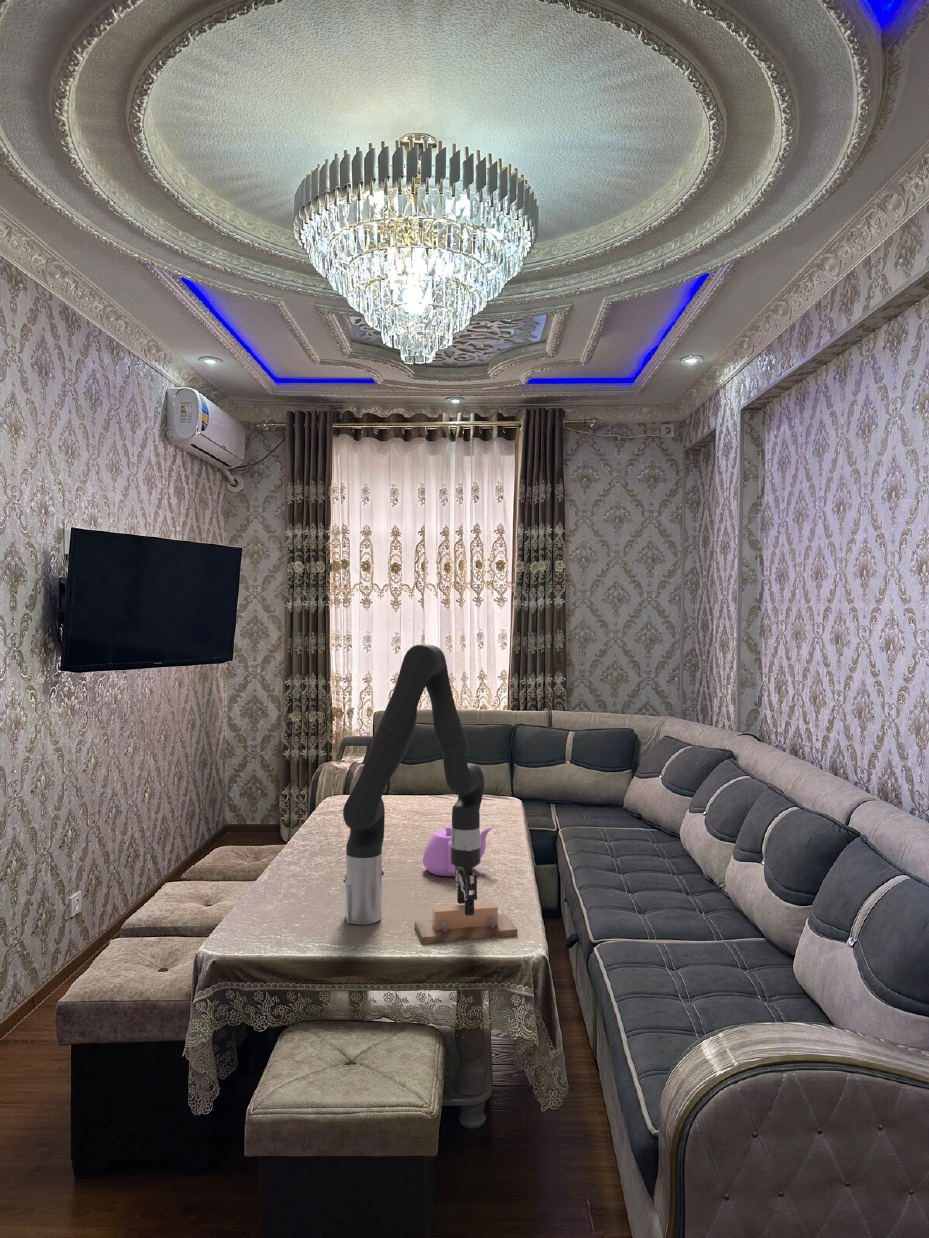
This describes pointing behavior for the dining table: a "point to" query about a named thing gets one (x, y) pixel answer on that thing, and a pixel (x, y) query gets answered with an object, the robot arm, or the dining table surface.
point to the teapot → (444, 852)
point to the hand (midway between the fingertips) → (465, 908)
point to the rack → (465, 931)
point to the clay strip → (464, 916)
